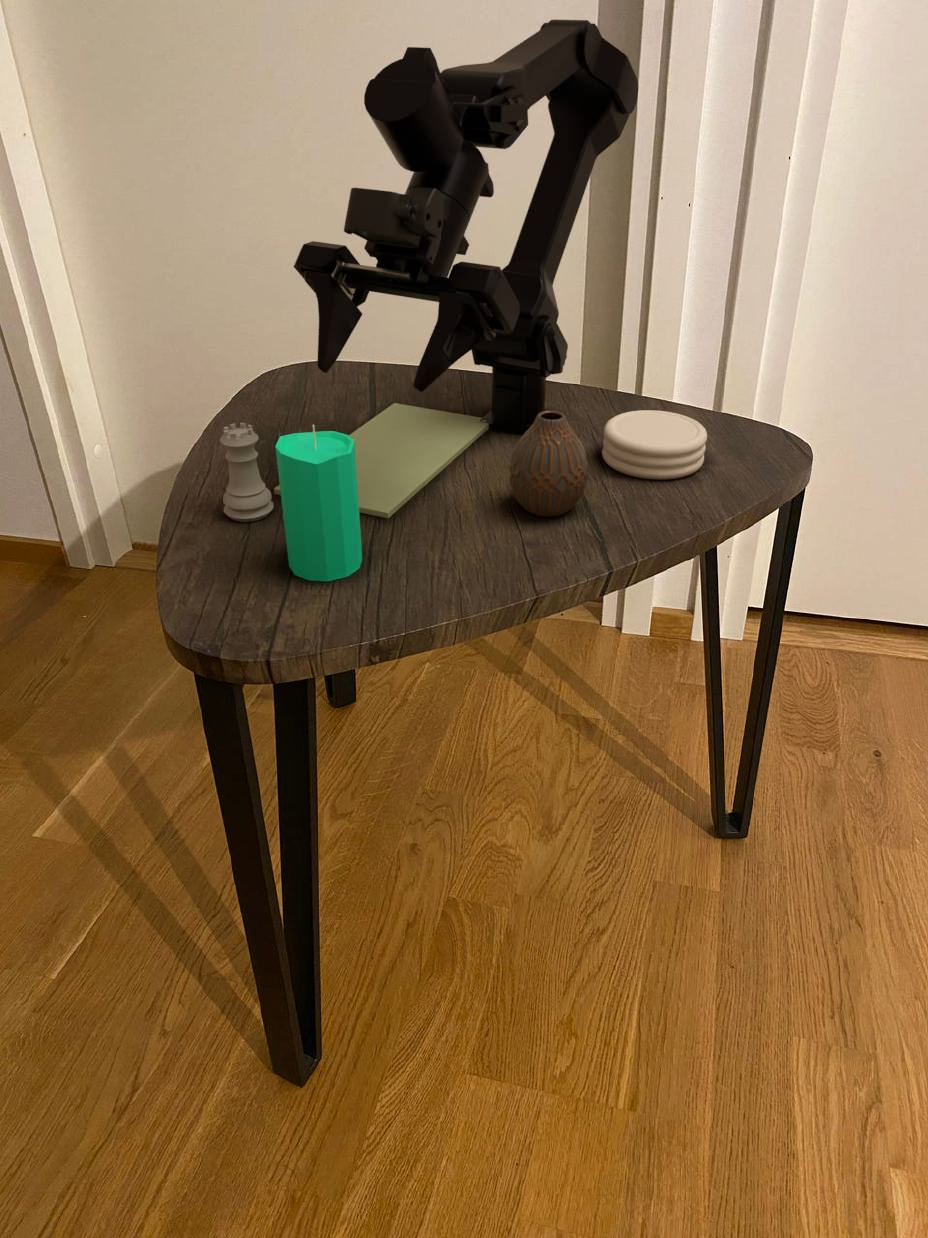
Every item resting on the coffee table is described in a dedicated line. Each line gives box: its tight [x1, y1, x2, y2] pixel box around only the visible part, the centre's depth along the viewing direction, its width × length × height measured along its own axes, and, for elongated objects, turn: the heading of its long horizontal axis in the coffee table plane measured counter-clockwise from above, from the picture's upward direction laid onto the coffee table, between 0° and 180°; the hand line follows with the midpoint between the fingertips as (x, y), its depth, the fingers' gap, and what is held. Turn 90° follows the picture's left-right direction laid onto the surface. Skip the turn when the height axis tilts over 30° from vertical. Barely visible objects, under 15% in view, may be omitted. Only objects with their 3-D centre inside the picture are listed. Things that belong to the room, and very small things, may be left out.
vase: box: [509, 409, 589, 517], centre depth 87 cm, size 7×7×9 cm
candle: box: [274, 424, 363, 582], centre depth 77 cm, size 6×6×12 cm
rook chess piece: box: [219, 422, 275, 523], centre depth 86 cm, size 4×4×8 cm
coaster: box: [601, 409, 708, 481], centre depth 97 cm, size 10×10×4 cm
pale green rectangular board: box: [273, 402, 492, 519], centre depth 98 cm, size 24×12×1 cm, turn 156°
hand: (368, 379), depth 79 cm, fingers open, 9 cm apart
